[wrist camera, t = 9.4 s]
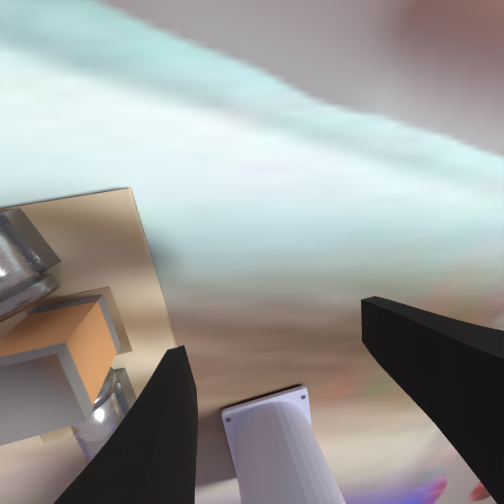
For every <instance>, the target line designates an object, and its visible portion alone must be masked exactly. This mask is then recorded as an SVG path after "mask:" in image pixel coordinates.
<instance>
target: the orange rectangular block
mask: <svg viewBox="0 0 504 504" xmlns="http://www.w3.org/2000/svg"><path fill="white" fill-rule="evenodd" d="M120 347H121V344H120V341H119V339H118V336H117V333H116V330H115V327H114V325H113V322H112V319H111V316H110V313H109V311H108V308H107V305H106V302H105V299H104V297H103V295H98V296H93V297H88V298H83V299H78V300H74V301H69V302H64V303H59V304H54V305H49V306H44V307H39V308H35V309H33V310H32V311H31V312H30V313H29V314H27V317H26V318H24V319H23V320H22V321H21V322H20V323H18V324H17V325H16V326H15V327H14V328H13V329H11V330H10V331H9V332H8V333H7V334H5V335H4V336H3V337H2V338H1V339H0V446H1V445H4V444H8V443H12V442H15V441H19V440H22V439H26V438H30V437H33V436H37V435H41V434H44V433H48V432H52V431H55V430H59V429H62V428H66V427H70V426H73V425H77V424H81V423H84V422H88V420H89V418H90V416H91V413H92V411H93V409H94V407H93V405H94V403H95V401H96V398H97V396H98V394H99V392H100V389H101V387H102V385H103V383H104V380H105V378H106V376H107V374H108V371H109V369H110V367H111V365H112V362H113V360H114V358H115V356H116V353H118V352H119V349H120Z"/></svg>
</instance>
